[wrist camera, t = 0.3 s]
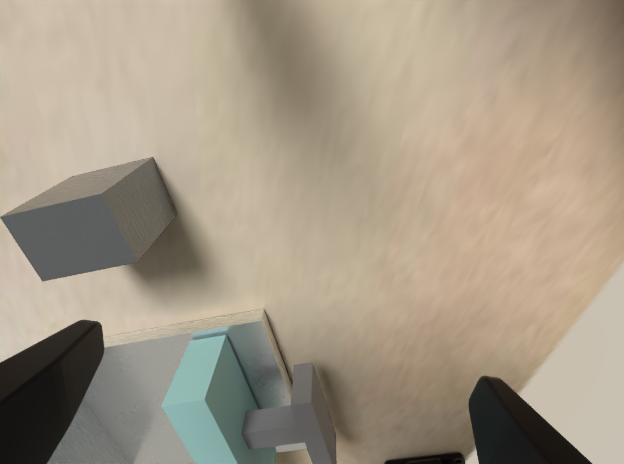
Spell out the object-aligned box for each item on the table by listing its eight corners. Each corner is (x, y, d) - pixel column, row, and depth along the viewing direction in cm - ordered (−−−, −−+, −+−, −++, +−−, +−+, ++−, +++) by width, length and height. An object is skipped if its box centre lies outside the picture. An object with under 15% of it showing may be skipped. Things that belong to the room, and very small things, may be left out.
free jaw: (342, 442, 30) (345, 514, 25) (246, 454, 31) (232, 526, 26) (303, 321, 24) (298, 385, 20) (190, 341, 25) (161, 406, 21)
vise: (310, 434, 31) (306, 519, 26) (120, 458, 34) (79, 542, 28) (263, 308, 26) (246, 383, 20) (39, 348, 28) (-31, 425, 23)
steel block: (177, 213, 23) (137, 262, 18) (101, 230, 24) (42, 281, 19) (153, 156, 21) (101, 193, 16) (72, 176, 22) (0, 217, 17)
